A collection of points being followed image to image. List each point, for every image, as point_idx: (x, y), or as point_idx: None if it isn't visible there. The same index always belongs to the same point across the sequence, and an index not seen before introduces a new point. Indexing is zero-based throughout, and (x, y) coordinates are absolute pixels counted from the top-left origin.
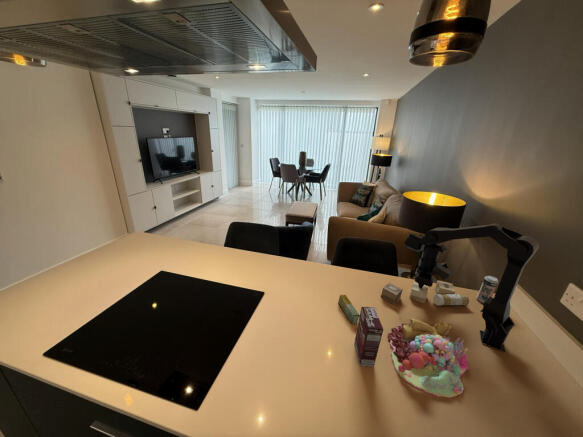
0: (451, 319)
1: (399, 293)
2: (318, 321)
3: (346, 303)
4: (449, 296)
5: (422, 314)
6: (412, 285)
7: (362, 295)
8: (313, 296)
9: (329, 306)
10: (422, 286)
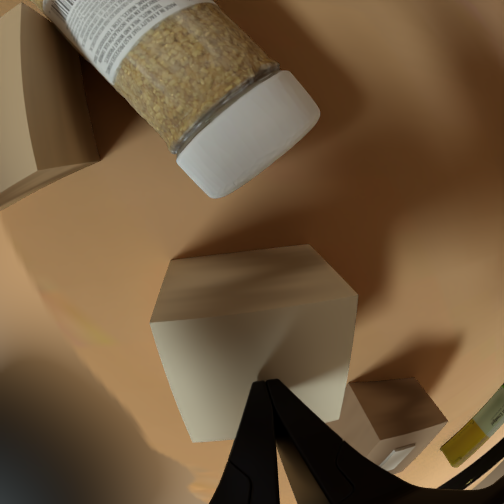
0: (380, 37)
1: (408, 421)
2: None
3: (486, 440)
4: (170, 14)
5: (442, 233)
6: None
7: None
8: (432, 472)
9: None
10: (301, 402)
